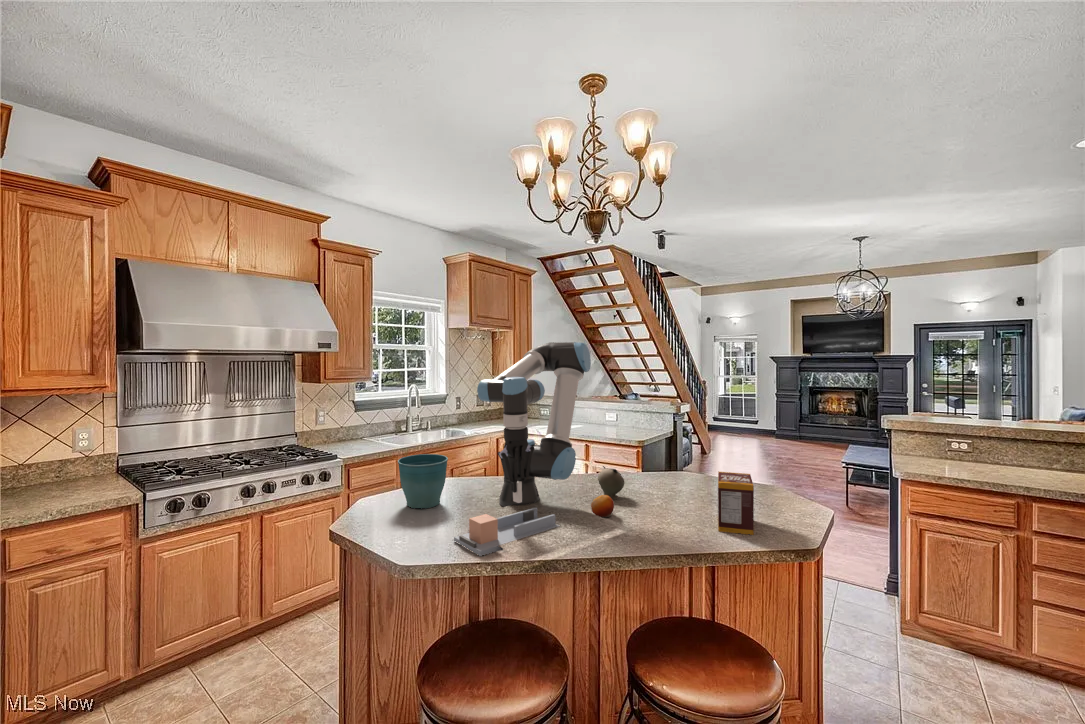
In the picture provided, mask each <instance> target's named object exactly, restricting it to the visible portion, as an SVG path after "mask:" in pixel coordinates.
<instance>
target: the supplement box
mask: <svg viewBox="0 0 1085 724" xmlns="http://www.w3.org/2000/svg"><path fill="white" fill-rule="evenodd" d="M717 473H718V474H717V475H718V476H717V477H718V478H717V524H718V525H717V527H718V529H717V530H718V531H717V532H722V533H731V534H738V533H741V535H748V534H750V536H754V530H755V529H754V526H755V525H754V524H755V523H754V517H755V516H754V513H755V512H754V511H755V509H754V508H755V507H754V506H755V505H754V502H755V501H754V499H755V498H754V496H755V495H754V494H755V491H754V489H755V487H754V482H753V479H752V476H751V473H744V472H742V473H740V472H729V471H728V472H727V471H718V472H717Z"/></svg>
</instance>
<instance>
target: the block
mask: <svg viewBox="0 0 1085 724" xmlns="http://www.w3.org/2000/svg"><path fill="white" fill-rule="evenodd" d="M496 518H497V517H494V516H492V515H489V514H487V513H483V514H479V515H477V516H473V517H469V520H468V522H469V523H468V524H469V525H468V526H469V527H468V528H469V529H468V530H469V531H468V533H469V539H471V540H473V541H475V542H477V543H479V544H484V543H487V542H490V541H493V540H497V539H498V519H496Z"/></svg>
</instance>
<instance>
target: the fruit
mask: <svg viewBox="0 0 1085 724" xmlns="http://www.w3.org/2000/svg"><path fill="white" fill-rule="evenodd" d="M590 507H591V512H592V513H593V514H594V515H595V516H597V517H600V518H611V516H612V515H614V514H613V511H614V509H615V501H614V500H612V498H611V497H610V496H608V495H604V494H601V495H599V496H597V497H595V498H594V499H592V502H591V503H590Z"/></svg>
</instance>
